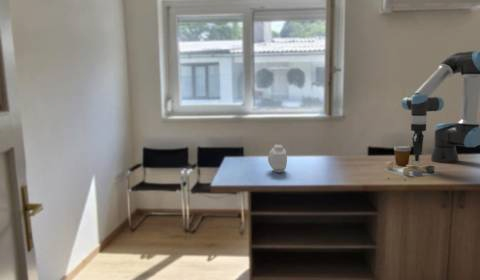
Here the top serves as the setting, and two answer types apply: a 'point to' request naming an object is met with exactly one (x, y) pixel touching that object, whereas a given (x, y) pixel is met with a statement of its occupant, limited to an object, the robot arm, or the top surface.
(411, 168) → the stool leg
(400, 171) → the board
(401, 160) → the disposable coffee cup
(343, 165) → the top surface
